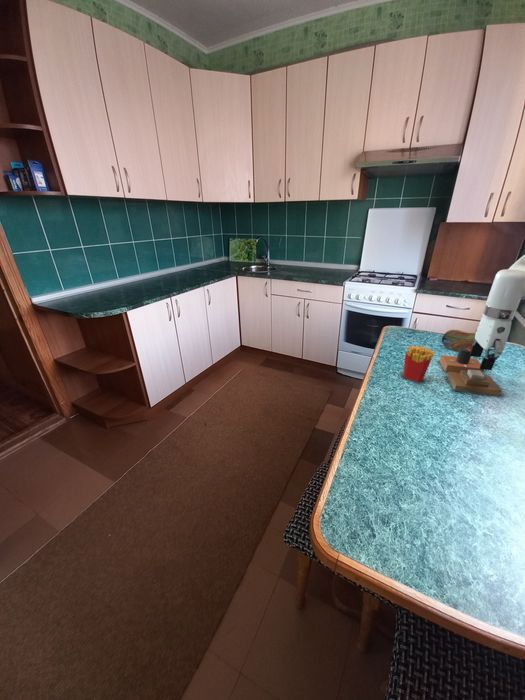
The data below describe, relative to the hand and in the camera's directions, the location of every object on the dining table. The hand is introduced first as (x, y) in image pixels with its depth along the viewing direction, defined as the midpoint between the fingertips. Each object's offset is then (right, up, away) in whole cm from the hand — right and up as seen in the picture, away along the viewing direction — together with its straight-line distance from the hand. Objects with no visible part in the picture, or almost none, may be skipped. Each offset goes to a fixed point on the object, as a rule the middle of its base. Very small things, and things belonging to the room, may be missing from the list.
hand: (479, 362), depth 95 cm
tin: (+12, +4, +28) cm, 31 cm away
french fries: (-17, -6, +9) cm, 20 cm away
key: (0, -5, +3) cm, 6 cm away
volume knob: (+3, 0, +13) cm, 13 cm away
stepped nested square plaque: (0, -8, +4) cm, 9 cm away
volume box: (+3, -3, +14) cm, 15 cm away
